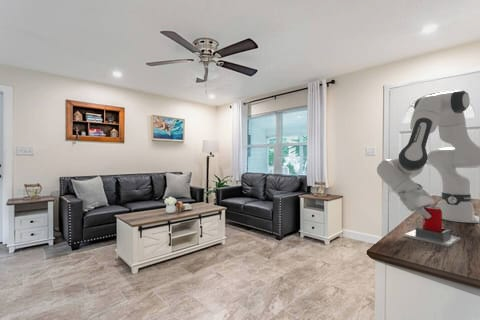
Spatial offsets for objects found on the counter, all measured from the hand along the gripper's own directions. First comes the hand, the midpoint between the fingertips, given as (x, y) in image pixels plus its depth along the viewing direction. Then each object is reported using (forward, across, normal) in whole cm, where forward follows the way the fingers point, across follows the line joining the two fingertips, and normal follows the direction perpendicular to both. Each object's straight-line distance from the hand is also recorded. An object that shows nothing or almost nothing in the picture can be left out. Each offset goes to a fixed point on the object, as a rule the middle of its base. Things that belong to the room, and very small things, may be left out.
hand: (433, 216), depth 101 cm
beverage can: (+6, 0, +6) cm, 8 cm away
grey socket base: (+6, 0, +7) cm, 9 cm away
